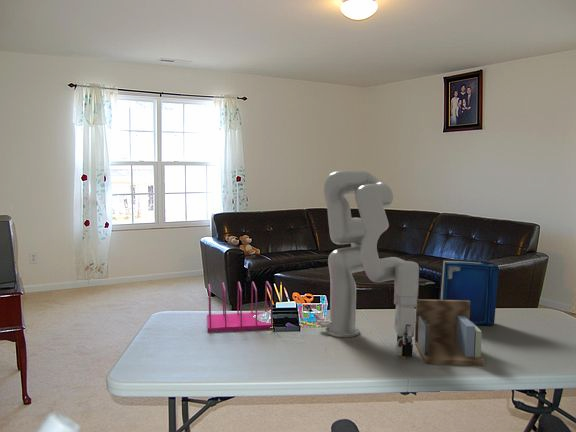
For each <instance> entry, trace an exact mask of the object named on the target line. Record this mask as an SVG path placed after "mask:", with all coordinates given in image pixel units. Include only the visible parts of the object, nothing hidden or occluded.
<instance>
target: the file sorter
mask: <svg viewBox="0 0 576 432" xmlns="http://www.w3.org/2000/svg"><path fill="white" fill-rule="evenodd" d="M221 286H222V289H221V290H222V313H218V314H216V313H214V314H212V291H211V284H210V283H208V286H207V287H208V289H207V290H208V314H206V324H207V325H206V328H207V332H208V333H214V332H215V333H218V332H232V331H233V332H235V331H252V330H255V331H256V330H269V329H268V328H270V327H272V326H273V324H272V321H273V289H272V286H271V284H270V283H269V281H268V280H266V281H265V293H264V295H265V297H264V299H265V300H264V303H265V304H264V308H265V309H264V310H265V311H261V312H260V311H259V312H258V290H257V287H256V284H255V282H254V281H251V301H250V302H251V306H250V307H251V311H250V312H243V294H242V293H243V289H242V286H241V283H240V281H237V305H236V306H237V308H236V310H237V311H236V313H227V300H226V299H227V296H226V295H227V294H226V286H225V282H224V281H223V282H222V284H221ZM268 287H269V288H268ZM268 289H269V290H270V317H271V324H270V323H266V322H261V321H259V320H257V315H259V314H262V313H263V312H268V311H267V309H268V308H267V307H268V306H267V303H268V301H267V300H268V299H267V298H268V295H267V294H268ZM254 291H255V312H253V311H254V307H253V306H254V303H253V302H254ZM239 307H240V308H239ZM239 311H240V312H239ZM254 315H256V318H253V316H254Z"/></svg>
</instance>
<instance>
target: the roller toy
mask: <svg viewBox="0 0 576 432" xmlns="http://www.w3.org/2000/svg"><path fill="white" fill-rule="evenodd" d="M405 340H406V339H405ZM402 344H403V338H400V339H399V340H398V342H397V341H396V345H395V352H396V355H397V356H399V357H401V359H403V360H405V359H406V358H408V359H409V357H403V356H402Z"/></svg>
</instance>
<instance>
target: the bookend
mask: <svg viewBox="0 0 576 432" xmlns="http://www.w3.org/2000/svg"><path fill="white" fill-rule="evenodd" d="M429 328H430V325H429V324H428V322H427V321H426V320H425V318H424V317H423V315H419V322H418V345H419V347H420V348H421V350H422V352H423V354H424V355H425V356H428V355H429Z"/></svg>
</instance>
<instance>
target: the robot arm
mask: <svg viewBox="0 0 576 432" xmlns="http://www.w3.org/2000/svg"><path fill="white" fill-rule="evenodd" d="M323 194H324V195H323V196H324V199H325V200H324V201H325V203H326V208H327V209H326V210H327V219H328V220H327V221H328V228H329V229H328V230H329V237H330V240H331V242H332V243H333V244H336V245H349V244H350V246H349V247H341V248H337V249H334V250H333V251H332V252H330V253H329V255H328V259H327V265H328V271H329V277H330V278H329V281H330V285H329V286H330V288H329V289H330V293H329V295H330V296H329V299H330V300H329V301H330V303H329V318H328V319H326V320H322V319H320V320H319V319H318V320H317V326H320V327H321V328H325V333H327V334H328V335H329V336H332V337H337V338H351V337H352V338H353V337H356V336H358V335H359V334H360V328H359V327H357V326H356V321H357V320H356V319H357V318H356V316H357V315H356V314H357V310H356V309H357V283H356V281H355V278H354V276H353V274H355V273H359V272H364V271H365V274H366V277H367V278H368V279H369V280H370V281H371V282H373V283H383V282H387V281H394V291H393V292H394V293H393V305H395V312H394V313H395V314H394V316H395V317H394V330H395V333H396V335H397V336H396V343H397V342H398V340H399V339H400V338H403V344H402V356H403V357H406V358H407V357H408V358H412V357H413V354H414V353H413V350H414V342H413V337H415V313H416V306H418V299H419V284H420V283H419V279H420V277H419V276H420V266H419V263H417V262H415V261H412V260H411V261H410V260H405V259H403V258H400V257H397V256H388V257H384V258H380V257H379V252H378V248H377V245H378V240H379V239H380V236H381V235H383V233H384V232H386V231H387V230H388V228H389V226H390V223H389V220H388V217H387V214H386V211H385V208H386V207H390V206H391V204H392V203H393V200H394V194H393V191H392V188H391V187H390V185H389V184H387V183H386V182H384V181H383V180H381V179H379V178H378V177H376V176H375V175H373V174H372V173H370V172H368V171H366V170H349V169H346V170H344V169H343V170H337V171H333V172H331V173H329V175H328V176H327V177H326V179H325V181H324V183H323ZM349 194H350V195H351V194H352V195H354V198H355V203H356V206H357V210H358V213H359V215H360V216H359V217H352V212H351V209H352V208H351V205H350V202H349V200H348V199H347V198H346V196H345V195H349ZM405 339H406V340H405ZM402 356H401V357H402Z"/></svg>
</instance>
